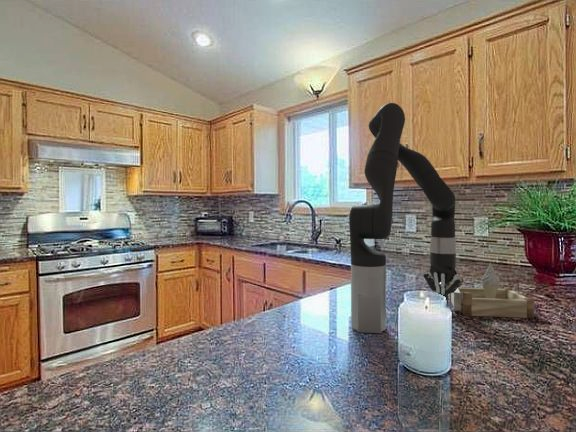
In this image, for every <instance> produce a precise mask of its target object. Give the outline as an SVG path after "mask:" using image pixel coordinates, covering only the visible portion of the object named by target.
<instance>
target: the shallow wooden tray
mask: <svg viewBox="0 0 576 432" xmlns="http://www.w3.org/2000/svg"><path fill="white" fill-rule="evenodd" d="M453 283H454V282H451V283H450V286H451V285H452V284H453ZM458 289H459V291H460V293H461V294H462V315H463V316H466V317H471V316H472V317H473V316H475V317H477V316H478V317H496V318H497V317H499V318H500V317H501V318H523V319H524V318H525V319H526V318H527V319H535V298H534V297H527V296H524V295H522V294H521V293H519V292H517V291H514V290H513V287H510V286H509V287H508V286H504V287H503V288H498V290H497V293H496V296H495V299H494V298H486V296H485V293H484V289H483V287H458ZM449 303H450V304H452V302H451V293H450V294H449Z"/></svg>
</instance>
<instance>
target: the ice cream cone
mask: <svg viewBox="0 0 576 432" xmlns="http://www.w3.org/2000/svg"><path fill="white" fill-rule="evenodd" d="M481 284H482V288H483V289H484V293H485V296H486V298H494V299H495V296H496V293H497V290H498V289H499V286H500V278H499V276H498V274H496V270H495V269H494V267H493V265H492V262H490V263H489V265H488V267H487V268H486V270H485V273H484V275H482V276H481Z"/></svg>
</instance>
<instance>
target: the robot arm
mask: <svg viewBox="0 0 576 432" xmlns="http://www.w3.org/2000/svg"><path fill="white" fill-rule="evenodd" d="M405 123H406V115H405V112H404V109H403V108H402V107H401V106H400V105H399V104H398V103H395V102H388V103H385V104H384V105H382V106H381V107H380V108H379V110H378V111H377V112H375V115H373V116H372V117H371V119H370V121H369V122H368V129H369V131H370V133H371V135H372V136H373V137H374V138H375V139H374V141H373V143H372V144H371V147H370V149H369V151H368V154H367V156H366V161H365V167H364V175H365V179H366V181H367V183H368V184H369V186H370V187H371V188H372V189H373V191H374V192H375V194H376V195H377V197H378V200H379V203H378V204H355V205H353V206H351V209H350V212H349V215H348V217H349V218H348V222H349V224H348V226H349V241H350V242H349V245H350V246H349V247H350V318H351V319H350V322H351V323H350V325H351V326H350V327H351V329H353V330H354V331H356V332H357V333H368V334H382V333H383V332H384V331H386V330H387V256H386V254H385V253H383V252H381V251H379V250H376V249H374V248H372V247H370V246H369V245H368V244H367V243H366V241H365V240H386V239H388V238H389V236H390V234H391V232H392V225H393V208H394V207H393V206H394V190H395V183H396V176H397V171H398V170H397V169H398V163H400V164H401V165H402V166H403V167H404V168H405V170H406V171H407V173H408V174H410V176H411V178H412V179H413V180H414V181H415V182H414V183H416V184H417V185H418V186H419V188H420V189H422V192H423V193H424V194H425V196H426V198H427V200H428V201H429V202H430V204H431V208H432V209H431V212H432V221H431V225H430V229H431V230H430V236H431V237H430V243H429V247H430V248H429V265H430V267H429V271H428V272H427V273H424V274H423V275H422V276H423V278H424V280H425V282H426V283H427V285H428V286H429V288H430V289H431V292H432V291H434V292H436V294H437V293H438V294H441V295H443V296H445V297H446V300H447V305H448V304H449V295H450V293H454V292H455V291H456V289H457V288H460V286H462V284H463V283H464V281H465V280H464V279H463V278H460V277H459V276H458V275H457V270H456V266H457V264H456V263H457V262H456V261H457V260H456V259H457V252H456V251H457V243H456V241H457V240H456V221H455V217H456V216H455V215H456V195H455V193H454V192H453V191H452V189H451V188H450V187H449V186H448V185H447V183H446V182H445V181H444V180H443V179H442V178H441V176H440V174H439V172H438V171H437V170H436V168H435V167H434V165H433V164H432V163H431V162H430V160H429V159H428V158H427V157H426V156H425V155H424V154H423V153H420V152H419V151H416V150H413V149H411V148H409V147H406V146H405V145H403V144H402V143H401V138H402V137H401V136H402V134H403V130H404V126H405ZM450 283H453V284H452V285H451V286H450Z"/></svg>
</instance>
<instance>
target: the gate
mask: <svg viewBox="0 0 576 432" xmlns="http://www.w3.org/2000/svg"><path fill="white" fill-rule="evenodd" d="M458 288H459V287H458ZM458 288H457V289H456V291H455V292H454V293H451V302H452V303H451V305H452V307H453V311H455V312H457V311H459V312H462V305H463V303H462V294H461V293H460V291H459V289H458Z"/></svg>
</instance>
